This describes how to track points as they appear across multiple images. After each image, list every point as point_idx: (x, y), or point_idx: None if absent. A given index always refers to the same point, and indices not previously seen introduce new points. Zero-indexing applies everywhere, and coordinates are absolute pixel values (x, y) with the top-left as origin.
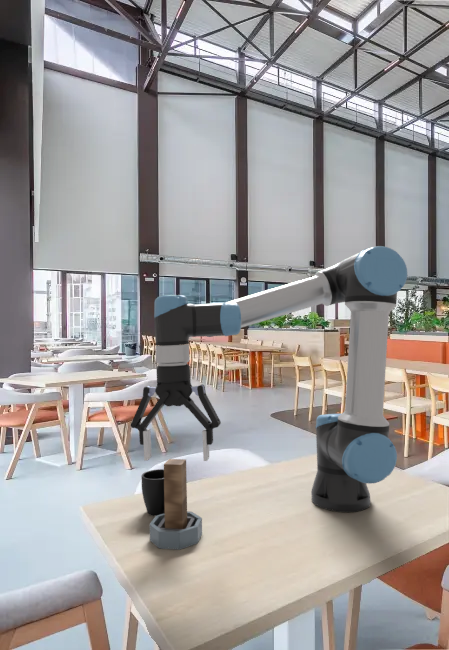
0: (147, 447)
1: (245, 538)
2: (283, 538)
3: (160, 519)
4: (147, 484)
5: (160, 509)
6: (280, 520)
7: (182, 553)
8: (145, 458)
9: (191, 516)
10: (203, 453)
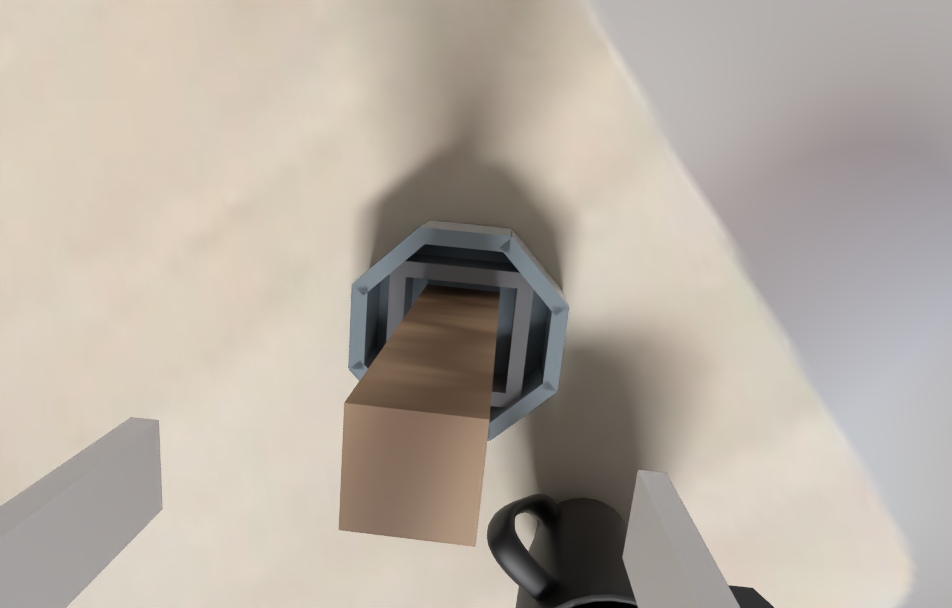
0: (665, 551)
1: (195, 312)
2: (59, 314)
3: (536, 381)
4: None
5: (565, 510)
6: None
7: (412, 192)
8: (659, 482)
9: None
10: (118, 449)
